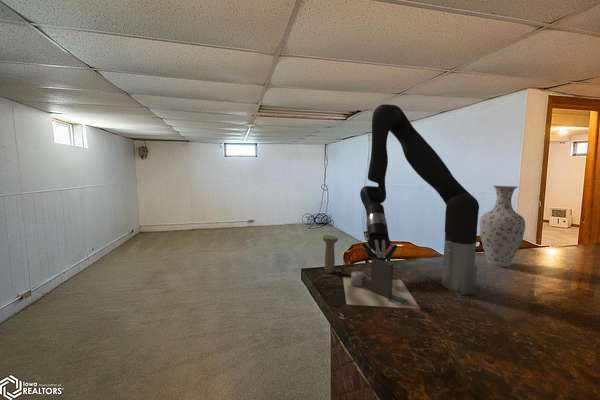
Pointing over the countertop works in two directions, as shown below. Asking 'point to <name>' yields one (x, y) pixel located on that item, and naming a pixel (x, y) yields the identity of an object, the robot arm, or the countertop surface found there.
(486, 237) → the vase
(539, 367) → the countertop surface
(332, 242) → the beige pillar
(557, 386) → the countertop surface
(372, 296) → the board
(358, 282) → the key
